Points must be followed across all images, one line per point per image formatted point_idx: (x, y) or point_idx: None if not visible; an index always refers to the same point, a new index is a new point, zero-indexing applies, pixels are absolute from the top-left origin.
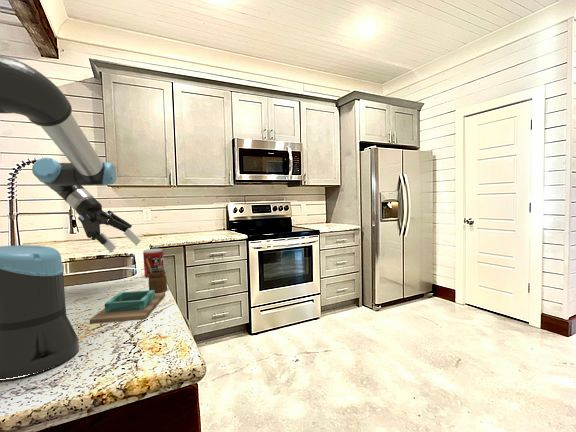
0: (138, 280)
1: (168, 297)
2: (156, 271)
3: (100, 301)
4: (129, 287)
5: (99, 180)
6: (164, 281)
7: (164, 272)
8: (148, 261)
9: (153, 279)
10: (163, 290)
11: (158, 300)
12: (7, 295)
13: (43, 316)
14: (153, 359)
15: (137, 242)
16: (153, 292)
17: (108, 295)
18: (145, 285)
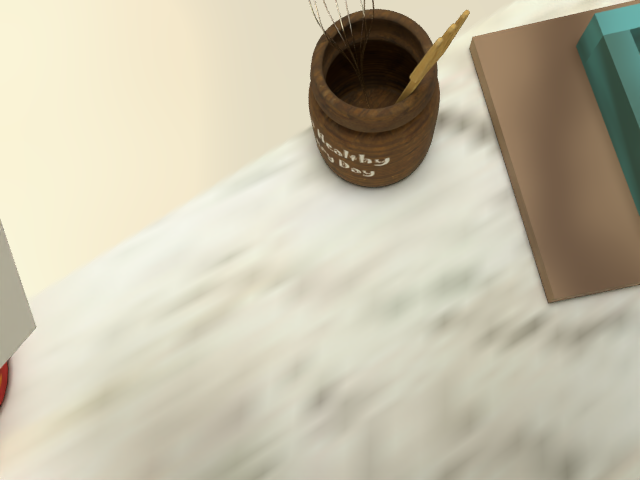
0: (70, 451)
1: (501, 15)
2: (327, 96)
3: (613, 425)
4: (272, 409)
5: None
6: (390, 47)
7: (369, 13)
8: (458, 21)
9: (437, 85)
10: (398, 86)
11: (619, 4)
12: None
13: None
14: None
15: (14, 282)
16: (618, 13)
17: (474, 457)
18: (228, 304)
